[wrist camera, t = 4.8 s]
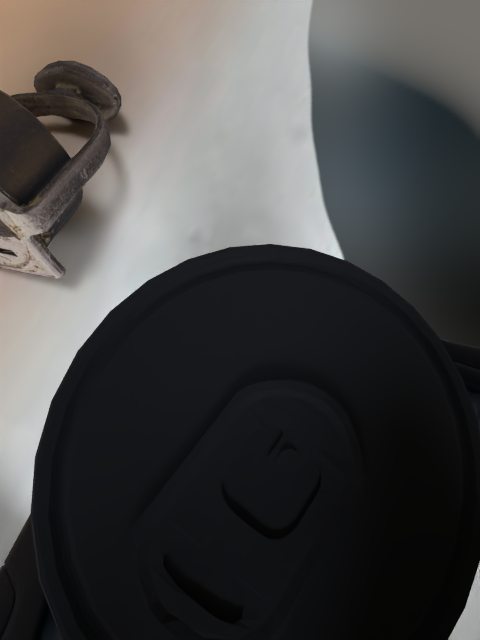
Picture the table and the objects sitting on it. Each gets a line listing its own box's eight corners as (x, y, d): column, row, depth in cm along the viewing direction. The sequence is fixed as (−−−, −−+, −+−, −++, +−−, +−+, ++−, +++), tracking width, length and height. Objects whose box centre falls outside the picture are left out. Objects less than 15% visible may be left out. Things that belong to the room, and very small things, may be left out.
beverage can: (301, 380, 16) (597, 408, 4) (226, 485, 14) (363, 1047, 2) (210, 303, 16) (244, 115, 4) (125, 400, 14) (-231, 547, 2)
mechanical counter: (-324, 105, 9) (-179, 262, 7) (-35, -112, 11) (149, -42, 8) (-63, 230, 16) (47, 325, 14) (83, 86, 18) (200, 150, 15)
